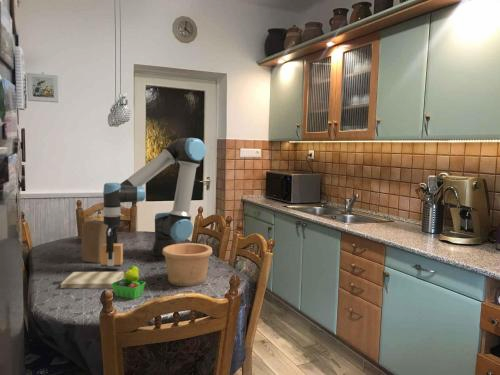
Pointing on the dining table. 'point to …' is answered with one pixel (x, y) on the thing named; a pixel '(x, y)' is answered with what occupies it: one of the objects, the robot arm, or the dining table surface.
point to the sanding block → (117, 255)
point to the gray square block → (59, 280)
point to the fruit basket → (129, 284)
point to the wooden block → (93, 240)
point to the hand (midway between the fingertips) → (112, 263)
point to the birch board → (92, 279)
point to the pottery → (187, 263)
